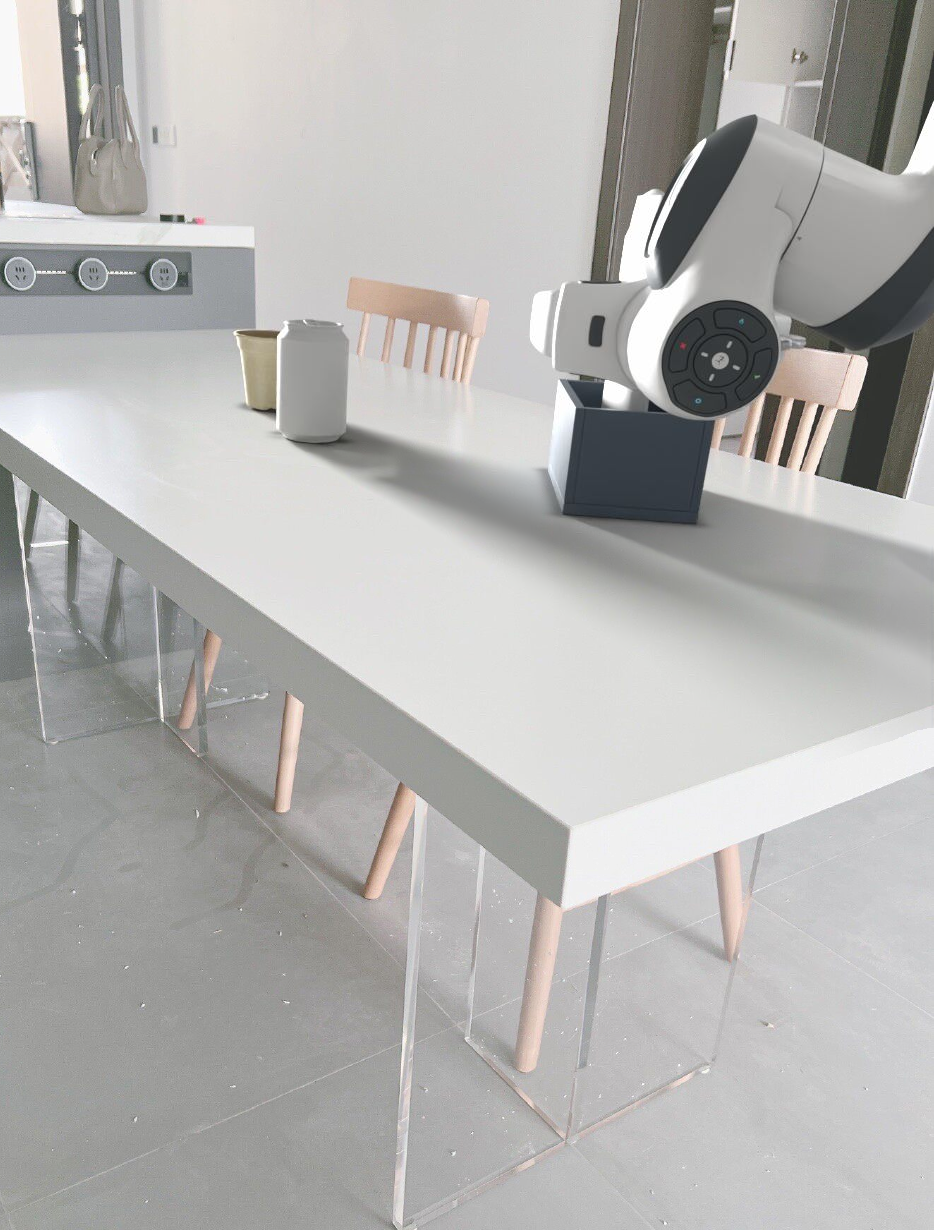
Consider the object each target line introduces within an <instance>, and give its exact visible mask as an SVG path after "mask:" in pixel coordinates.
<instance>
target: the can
mask: <svg viewBox="0 0 934 1230" xmlns="http://www.w3.org/2000/svg"><path fill="white" fill-rule="evenodd" d="M283 324H284V328H283V329H282V330H281V331H282V332H281V333H280V334H279V335H278V349H277V410H276V429H277V430H278V431H279V432H280V434H282V435H283V437H284V439H287V440H289V441H290V440H291V441H295V442H300V443H311V444H312V443H315V444H323V443H324V444H325V443H332V442H336V441H338V440H339V438H340V437H341V436H343V435H344V434H345V433H346V431H347V411H348V410H347V409H348V383H349V357H350V339H349V337H348V336H347V335H346V333H344V331H343V328H344V327H345V325H344V324H342V322H341V323H340V322H336V321H331V320H320V319H313V318H305V319H287V320H285V321H283Z"/></svg>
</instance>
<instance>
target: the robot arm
mask: <svg viewBox="0 0 934 1230" xmlns="http://www.w3.org/2000/svg"><path fill="white" fill-rule="evenodd" d="M664 193H665V194H664V196H663V199H662V201H661V203H660V205H659V207H658V210H657V212H656V215H655V217H654V220H653V223H652V225H651V228H650V231H649V234H648V238H647V241H646V245H645V249H644V264H645V271H646V275H644V276H640V277H636V278H632V279H627V280H621V281H620V280H619V279H612V280H611V279H610V280H578V281H576V280H575V281H571V280H567V281H565V282H563V283H562V284H561V288H559V289H550V290H543V291H538V292H537V293H536V294H535V295H534V297H533V301H532V308H531V309H532V310H531V316H530V325H529V326H530V328H529V340H530V342H531V344H532V345H533V346H534V348H535V349H536V350H537V351H538V352H539V353H540V354H542V355H544V356H545V357H547V358H550V359H552V360H551V361H552V364H551V365H552V368H553V369H554V370H555V371H557V372H559V373H567V374H569V375H573V376H580V377H587V378H592V379H597V380H601V381H605V380H608V381H611V382H614V383H617V384H620V385H622V386H624V387H627V388H629V389H631V390H634V391H639V390H640V391H641V392H642V393H643V394H644V395H645V396H646V397H647V398H648V399H650V400H651V401H652V402H653V403H654V404H656V405H657V406H658V407H660V408H662V409H663V410H665V411H667V412H668V413H671V414H673V415H675V416H678V417H681V418H685V419H690V420H705V421H708V420H715V421H716V420H717V421H718V420H721V419H725V418H728V417H731V416H733V415H735V414H737V413H739V412H741V411H743V410H745V409H746V408H748V407H749V406H750V405H752V404H753V403H755V402H756V401H757V400H758V399H759V398H760V397H762V395H763V394H764V393H765V392H766V391H767V390H768V388H769V387H770V385H771V384H772V382H773V380H774V379H775V376H776V374H777V371H778V368H779V365H780V364H781V363H783V361H784V360H785V356H786V351H790V350H791V349H792V350H804V348H805V346H806V345H807V341H806V339H807V338H806V337H804V336H801V335H797V334H792V333H791V334H790V332H791V331H790V330H791V326H792V322H793V321H792V319H793V320H796V321H798V322H800V323H803V324H805V325H806V327H807V328H809V329H811V330H812V331H814V332H816V333H817V334H819V335H821V336H823V337H825V338H826V339H828V340H830V341H833V342H834V343H836V344H837V345H840V346H841V347H842V348H845V349H847V350H849V351H850V352H860V351H865V350H868V349H873V348H876V347H880V346H883V345H886V344H889V343H892V342H895V341H897V340H899V339H901V338H902V339H903V338H904V337H906V336H908V335H910V334H912V333H914V332H916V331H918V330H919V329H920V328H921V327H922V326H924V325H925V323H926V322H927V321H928V320H929V319H930V318H931V317H932V315H933V314H934V101H933V102H932V105H931V107H930V109H929V113H928V115H927V117H926V119H925V122H924V125H923V127H922V130H921V132H920V134H919V138H918V140H917V142H916V145H915V148H914V150H913V152H912V155H911V157H910V159H909V162H908V165H907V167H906V168H905V169H904V171H903V172H901V173H900V174H889V173H887V172H883V171H881V170H879V169H878V168H875V167H872V166H870V165H868V164H865V163H863V162H861V161H858V160H856V159H854V158H853V157H849V156H848V155H845V154H843V153H840V152H838V151H837V150H834V149H832V148H829V147H827V146H825V145H823V143H821V142H820V141H818V140H816V139H813V138H811V137H808V136H806V135H804V134H802V133H799V132H796V131H795V130H792V129H790V128H787V127H785V126H782V125H780V124H778V123H776V122H773V121H771V120H769V119H767V118H763V117H760V116H758V115H757V114H749V115H745V116H741V117H739V118H736V119H733V120H732V121H730V122H728V123H726V124H725V125H723V126H722V127H720V128H718V129H716V130H715V131H714V132H712V133H711V134H709V135H707V136H706V137H704V138H703V139H702V140H701V141H699V142H698V143H697V145H695V147H694V148H693V149H692V150H691V151H690V153H689V154H688V155H687V156H686V158H685V159H684V160H683V162H682V163H681V164H680V166H679V167H678V169H677V171H676V173H675V174H674V176H673V178H672V179H671V181H670V183H669V185H668V186H667V188H666V190H665V192H664Z"/></svg>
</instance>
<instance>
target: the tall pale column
mask: <svg viewBox="0 0 934 1230" xmlns="http://www.w3.org/2000/svg"><path fill="white" fill-rule="evenodd" d="M664 194H665V192H664V191H663V190H662V189H658V188H652V189H650V190H649V191H647V192H645V193H644V194H642V195H637V198H636V201H635V205H634V209H633V212H632V216H631V221H630V225H629V228H628V230H627V231H626V235H624V241H623V242H624V243H623V247H622V248H623V249H622V256H621V262H620V267H619V268H620V269H619V276H618V280H620V281H621V280H627V279H632V278H636V277H640V276H644V275H646V271H645V264H644V249H645V245H646V241H647V238H648V234H649V231H650V228H651V225H652V223H653V220H654V217H655V215H656V212H657V210H658V207H659V205H660V203H661V201H662V199H663V196H664ZM604 382H605V385H604V392H603V399H602V406H601V408H604V409H618V410H632V411H646V412H647V411H648V404H649V399H648V398H647V397H646V396H645V395H644V394H643V393H642V392H641V391H640V390H639V391H634V390H631V389H629V388H627V387H624V386H622V385H620V384H617V383H614V382H611V381H608V380H604Z"/></svg>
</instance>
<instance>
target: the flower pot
mask: <svg viewBox="0 0 934 1230" xmlns="http://www.w3.org/2000/svg"><path fill="white" fill-rule="evenodd" d="M282 331H283V330H274V329H272V330H271V329H237V330H235V331H233V335H234V336H235V337H236V342H237V347H238V349H239V351H240V359H241V366H242V376H243V385H244V392H245V403H246V405H247V407H248V408H251V409H256V410H260V411H267V410H269V409H274V410H275V411H277V349H278V335H279V334H280V333H281V332H282Z"/></svg>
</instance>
